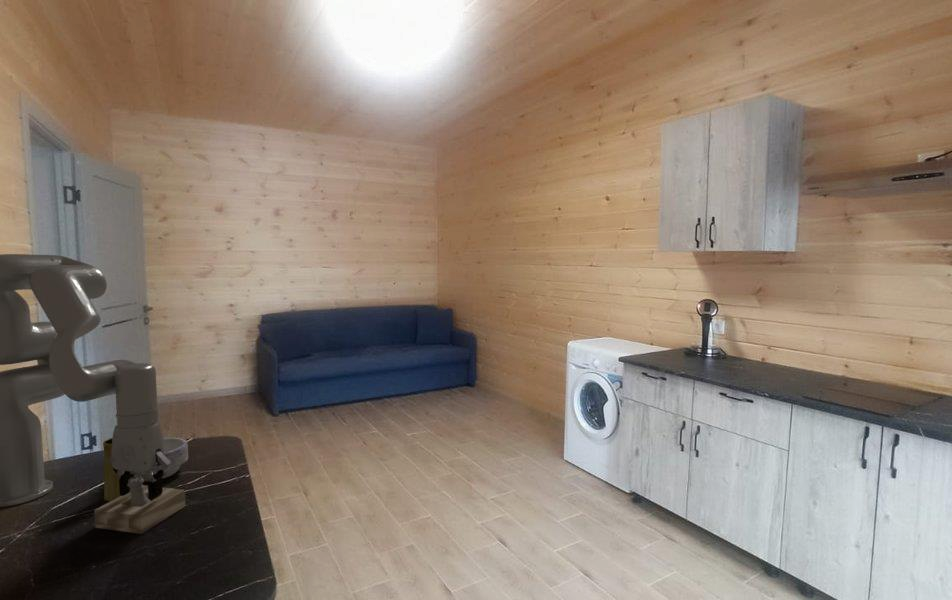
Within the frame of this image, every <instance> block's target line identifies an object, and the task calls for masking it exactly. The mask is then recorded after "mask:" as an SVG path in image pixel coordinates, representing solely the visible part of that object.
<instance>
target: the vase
mask: <svg viewBox="0 0 952 600" xmlns="http://www.w3.org/2000/svg"><path fill="white" fill-rule="evenodd" d="M112 438H113V437H110V438H108V439H105V440H104V441H103V442H102V445H103V481H104V482H103V484H104V488H103V489H104V491H103V494H104V495H103V500H104V501H106V502H111V501H113V500H114V499H116V498H118V497H120V490H119V479H118V478H117V477H116V472H115V471H114V470H113V467H112V466H111V464H110V463H109V462H108V459H109V458H110V457H111V456H112ZM131 473H132V472H131ZM131 473H130V474H131Z"/></svg>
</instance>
